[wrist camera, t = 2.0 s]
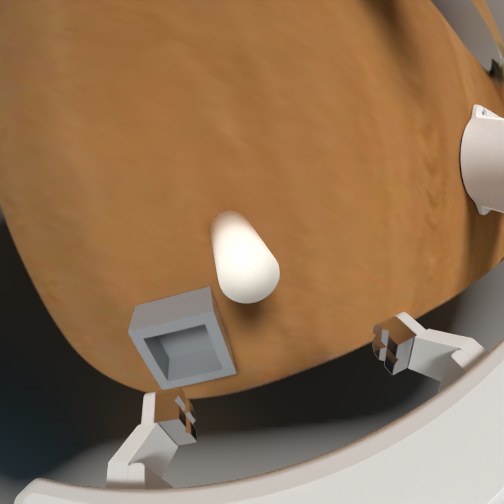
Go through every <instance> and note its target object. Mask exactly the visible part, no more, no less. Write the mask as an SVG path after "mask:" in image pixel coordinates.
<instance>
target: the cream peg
mask: <svg viewBox="0 0 504 504" xmlns="http://www.w3.org/2000/svg"><path fill="white" fill-rule="evenodd" d="M210 235H211V241H212V247H213V253H214V258H215V264H216V270H217V275H218V281H219V285H220V288H221V290H222V291H223V293H224V294H225V295H226V296H227V297H228V298H230V299H231V300H233V301H236V302H239V303H254V302H257V301H260V300H262V299H264V298H266V297H267V296H268V295H269V294H270V293H271V292H272V291H273V290H274V289H275V287H276V285H277V283H278V280H279V275H280V271H279V266H278V263H277V261H276V259H275V258H274V256H273V255H272V254H271V252H270V251H269V249H268V248H267V247H266V245H265V244H264V242H263V241H262V240H261V238H260V237H259V235H258V234H257V233H256V231H255V230H254V228H253V227H252V226H251V224H250V223H249V222H248V220H247V219H246V217H245V216H244V215H243V214H241V213H240V212H238V211H234V210H226V211H223V212H220V213H219V214H217V215H216V216H215V217H214V219H213V220H212V222H211V225H210Z"/></svg>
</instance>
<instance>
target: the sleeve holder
mask: <svg viewBox="0 0 504 504" xmlns="http://www.w3.org/2000/svg"><path fill="white" fill-rule="evenodd" d="M128 333H129V335H130V337H131V339H132V340H133V342H134V344H135V346H136V348H137V349H138V351H139V353H140V354H141V356H142V358H143V360H144V361H145V363H146V365H147V366H148V368H149V369H150V371H151V373H152V374H153V376H154V377H155V379H156V381H157V382H158V384H159V385H160V387H161V388H162V390H163V389H169V388H174V387H180V386H185V385H190V384H195V383H199V382H204V381H208V380H213V379H217V378H221V377H225V376H229V375H233V374H237V373H236V369H235V364H234V360H233V355H232V350H231V346H230V343H229V340H228V337H227V334H226V331H225V328H224V326H223V323H222V320H221V317H220V314H219V311H218V308H217V305H216V302H215V299H214V296H213V293H212V290H211V287H210V286H208V287H205V288H201V289H197V290H194V291H190V292H186V293H182V294H179V295H175V296H171V297H167V298H163V299H159V300H155V301H152V302H148V303H144V304H140V305H136V307H135V310H134V313H133V316H132V319H131V322H130V326H129V329H128Z"/></svg>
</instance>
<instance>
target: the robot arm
mask: <svg viewBox="0 0 504 504" xmlns="http://www.w3.org/2000/svg"><path fill="white" fill-rule="evenodd" d="M461 171H462V177H463V182H464V185H465V188H466V190H467V193H468V194H469V196H470V197H471V199H472V200H473V201H474V202H475V203H476V206H477V209H478V212H479V214H481V215H486V214H487V213H488V212H489V211H491V210H495V211H498V212H501V213H504V118H501V117H499V116H497V115H496V114H494V113H492V112H491V111H489V110H487V109H486V108H484V107H482V106H481V105H474V107H473V111H472V117H471V119H470V121H469V123H468V124H467V126H466V128H465V131H464V134H463V138H462V144H461ZM373 333H374V334H375V335H376V336H375V337H374V339H373V343H372V344H373V345H372V346H373V350H374V353H375V355H376V356H377V357H378V359H380V360H383V361H385V365H384V366H385V367H386V368H387V369H388V371H389V372H390V373H391V374H392V375H394V374H396V373H398V372H400V371H402V370H404V369H405V368H407V367H408V368H409V369H412V370H414V371H417V372H419V373H422V374H424V375H426V376H429V377H431V378H434V379H437V380H439V381H442V382H441V384H440V387H439V389H438V394H437V395H436V396H434V397H433V398H431V399H430V400H428V401H427V402H425V403H424V404H422V405H420V406H419V407H417V408H416V409H414V410H412V411H411V412H409V413H408V414H406V415H404V416H402V417H401V418H399V419H398V420H395V421H394V422H392V423H390V424H388V425H386V426H385V427H383V428H381V429H379V430H377V431H375V432H373V433H371V434H369V435H367V436H365V437H363V438H361V439H359V440H356V441H354V442H352V443H350V444H347V445H345V446H343V447H341V448H338V449H336V450H333V451H331V452H328V453H326V454H323V455H320V456H318V457H315V458H312V459H309V460H307V461H304V462H301V463H298V464H295V465H292V466H288V467H285V468H281V469H278V470H275V471H271V472H268V473H263V474H259V475H255V476H251V477H246V478H242V479H237V480H231V481H226V482H220V483H214V484H207V485H199V486H190V487H179V488H173V487H172V486H171V485H170V484H169V483H167V482H166V481H164V480H163V479H162V476H163V474H164V472H165V470H166V468H167V466H168V465H169V463H170V461H171V459H172V457H173V455H174V453H175V451H176V449H177V447H178V446H177V445H183V444H189V443H194V442H197V435H196V428H195V427H194V426H193V423H194V421H195V414H194V410H193V407H192V405H191V403H190V401H189V400H188V399H186V398H185V393H184V392H183V390H182V389H181V388H176V389H170V390H164V391H158V392H152V393H146V394H145V396H144V401H143V411H142V423H141V425H138V426H137V427H136V428H135V430H134V431H133V433H132V434H131V435H130V436H129V438H128V439H127V440H126V441H125V442H124V444H123V445H122V446H121V447H120V449H119V450H118V451H117V452H116V454H115V455H114V456H113V457H112V459H111V460H110V461H109V463H108V472H107V483H106V488H102V487H92V486H83V485H75V484H69V483H63V482H58V481H53V480H48V479H44V478H37V479H35V480H34V481H32V482H31V483H30V484H29V485H28V486H27V487H26V488H25V489H24V490H23V491H22V492H21V493H20V494H19V495H18V496H17V497H16V500H15V502H14V504H504V339H503V340H502V341H501V342H500V343H499V344H498V345H497V346H496V347H495V348H493V350H491V352H488V351H487V350H486V349H484V348H483V347H482V346H481V345H480V344H479V343H477V342H476V341H475V340H474V339H472V338H469V337H464V336H459V335H454V334H450V333H445V332H440V331H436V330H431V329H428V330H425V329H424V328H423V327H422V326H421V325H420V324H418V323H417V322H416V321H415V320H414V319H413V318H411V317H410V316H409V315H408V314H407V313H405V312H401V313H399V314H397V315H395V316H393V317H391V318H389V319H387V320H385V321H383V322H380V323H378V324H376V325H375V326H374V328H373Z"/></svg>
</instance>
